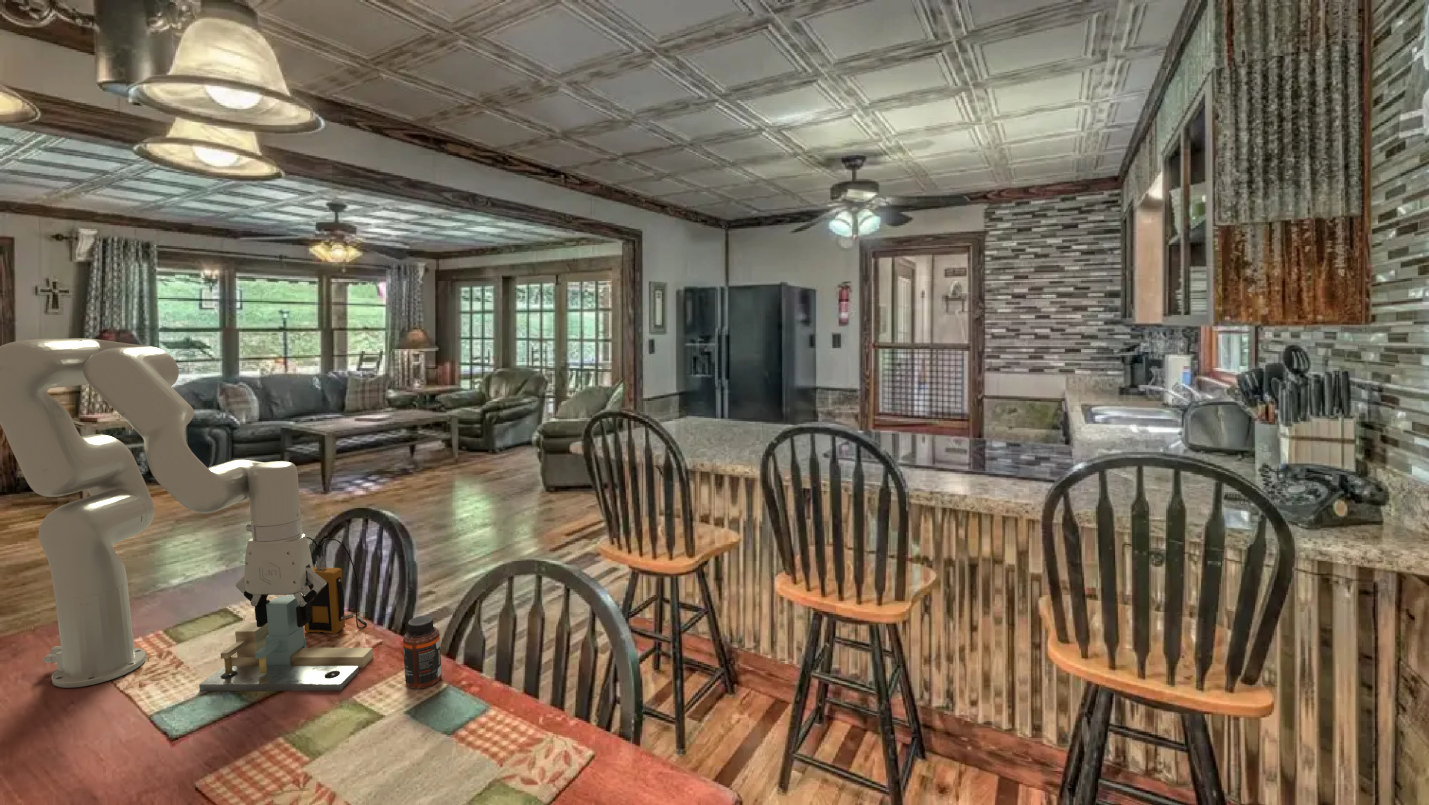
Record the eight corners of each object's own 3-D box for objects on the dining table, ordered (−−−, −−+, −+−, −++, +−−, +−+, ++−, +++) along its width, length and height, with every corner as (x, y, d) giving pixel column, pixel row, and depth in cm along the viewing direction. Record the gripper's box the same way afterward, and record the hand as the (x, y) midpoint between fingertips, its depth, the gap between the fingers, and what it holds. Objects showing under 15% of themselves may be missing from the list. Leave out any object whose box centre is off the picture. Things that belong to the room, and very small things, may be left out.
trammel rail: (209, 684, 116) (205, 646, 115) (245, 657, 125) (242, 622, 124) (347, 683, 116) (345, 645, 115) (373, 657, 125) (371, 622, 124)
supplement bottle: (449, 677, 118) (446, 616, 117) (422, 693, 113) (419, 630, 112) (425, 669, 121) (422, 610, 120) (397, 685, 116) (394, 623, 114)
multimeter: (383, 614, 144) (378, 525, 141) (354, 636, 134) (348, 540, 131) (320, 611, 145) (314, 522, 143) (286, 632, 135) (279, 537, 133)
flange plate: (199, 691, 114) (199, 683, 113) (224, 672, 120) (224, 665, 119) (340, 690, 114) (340, 683, 114) (358, 672, 120) (358, 665, 120)
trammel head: (249, 681, 116) (244, 617, 114) (285, 652, 126) (281, 594, 124) (272, 681, 116) (267, 617, 114) (306, 652, 126) (302, 594, 124)
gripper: (213, 536, 116) (222, 633, 118) (313, 536, 117) (320, 633, 119) (243, 524, 124) (250, 615, 126) (336, 524, 124) (342, 615, 126)
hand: (284, 623), depth 122 cm, fingers open, 6 cm apart
